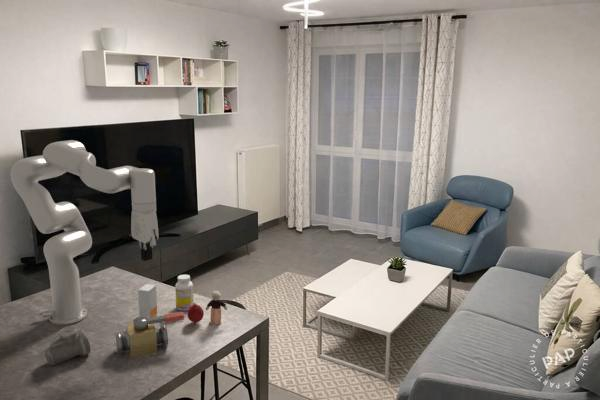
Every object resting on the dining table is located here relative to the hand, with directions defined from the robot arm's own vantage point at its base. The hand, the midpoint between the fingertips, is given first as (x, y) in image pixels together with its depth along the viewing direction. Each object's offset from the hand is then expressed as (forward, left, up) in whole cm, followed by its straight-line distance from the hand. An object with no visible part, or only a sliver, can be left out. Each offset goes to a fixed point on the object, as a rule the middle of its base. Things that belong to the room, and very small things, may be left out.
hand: (146, 259), depth 161 cm
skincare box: (+1, +12, -27) cm, 30 cm away
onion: (+16, +1, -27) cm, 32 cm away
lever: (+2, -10, -19) cm, 21 cm away
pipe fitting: (-26, -7, -27) cm, 38 cm away
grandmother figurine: (+23, -2, -27) cm, 36 cm away
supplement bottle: (+15, +15, -27) cm, 35 cm away
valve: (-4, -10, -27) cm, 29 cm away
